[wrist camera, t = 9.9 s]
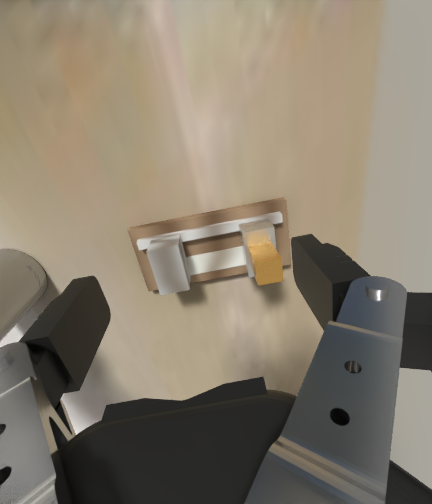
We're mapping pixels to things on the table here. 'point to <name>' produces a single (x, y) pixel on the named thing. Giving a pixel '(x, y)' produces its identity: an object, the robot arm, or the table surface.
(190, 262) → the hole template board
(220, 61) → the table surface
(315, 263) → the robot arm
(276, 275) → the block
